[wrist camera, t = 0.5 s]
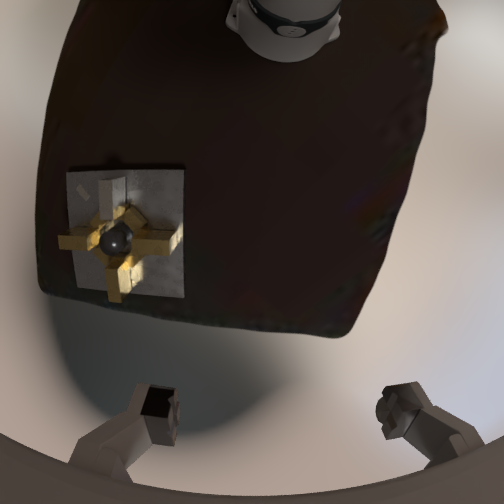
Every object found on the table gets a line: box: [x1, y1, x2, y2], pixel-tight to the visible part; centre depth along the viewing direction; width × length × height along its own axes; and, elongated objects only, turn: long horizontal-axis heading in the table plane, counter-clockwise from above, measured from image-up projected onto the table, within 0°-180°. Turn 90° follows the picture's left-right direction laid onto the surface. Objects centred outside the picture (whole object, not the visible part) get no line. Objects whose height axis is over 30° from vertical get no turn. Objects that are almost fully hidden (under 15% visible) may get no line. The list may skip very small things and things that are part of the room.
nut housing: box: [66, 169, 186, 298], centre depth 46 cm, size 22×22×7 cm
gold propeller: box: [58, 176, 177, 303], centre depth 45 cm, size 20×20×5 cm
